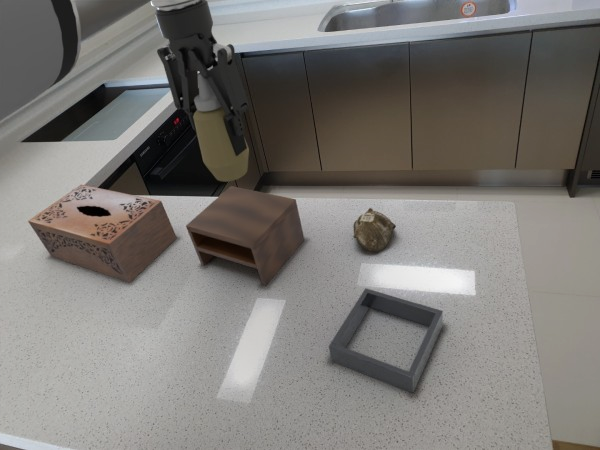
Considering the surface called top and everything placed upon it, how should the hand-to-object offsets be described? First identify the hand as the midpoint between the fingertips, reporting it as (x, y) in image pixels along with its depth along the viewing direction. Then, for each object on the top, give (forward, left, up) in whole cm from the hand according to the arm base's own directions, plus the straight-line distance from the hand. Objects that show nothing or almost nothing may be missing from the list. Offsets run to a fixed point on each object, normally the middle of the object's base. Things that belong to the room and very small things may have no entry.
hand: (224, 148), depth 78 cm
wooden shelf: (0, +1, -24) cm, 24 cm away
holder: (-10, -32, -24) cm, 41 cm away
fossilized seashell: (+12, -20, -24) cm, 34 cm away
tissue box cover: (-10, +33, -24) cm, 42 cm away
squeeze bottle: (0, 0, -5) cm, 5 cm away
